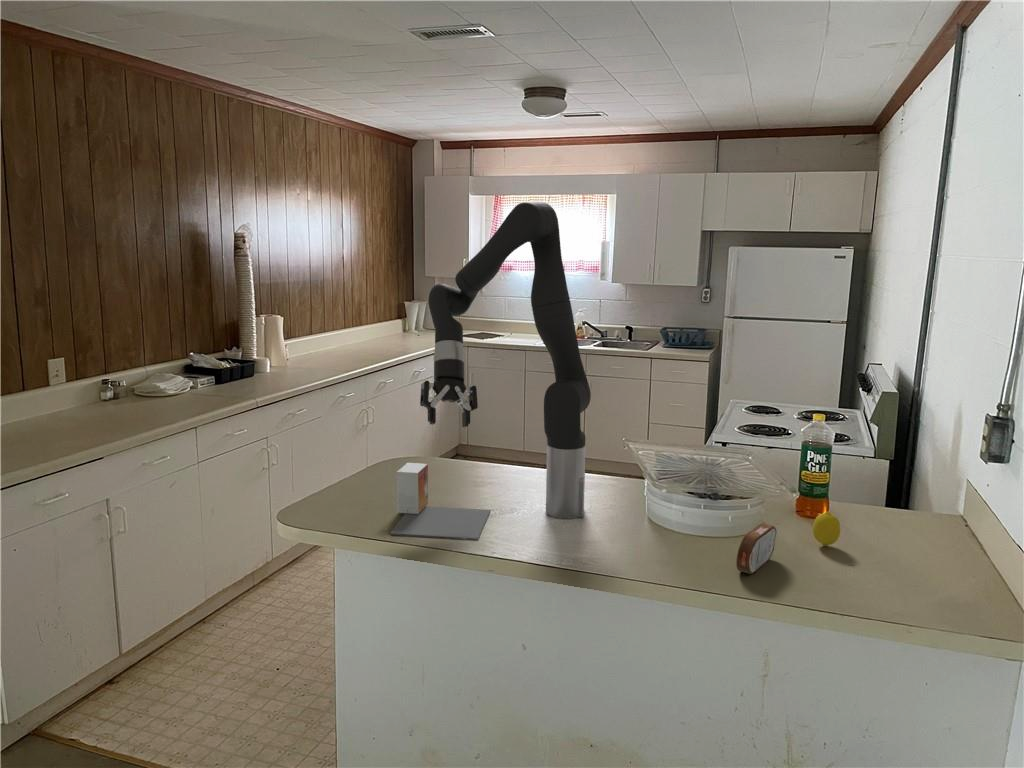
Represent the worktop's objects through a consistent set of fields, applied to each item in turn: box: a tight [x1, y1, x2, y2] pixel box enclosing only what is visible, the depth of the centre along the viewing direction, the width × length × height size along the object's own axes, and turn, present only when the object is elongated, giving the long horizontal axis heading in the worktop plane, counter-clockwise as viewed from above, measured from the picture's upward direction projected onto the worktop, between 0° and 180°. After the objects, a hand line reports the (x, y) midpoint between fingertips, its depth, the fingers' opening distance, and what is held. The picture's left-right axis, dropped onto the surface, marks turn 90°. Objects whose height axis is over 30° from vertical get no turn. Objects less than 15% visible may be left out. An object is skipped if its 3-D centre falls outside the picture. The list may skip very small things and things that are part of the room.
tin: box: [735, 521, 777, 575], centre depth 156 cm, size 15×3×8 cm, turn 141°
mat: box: [390, 505, 491, 540], centre depth 179 cm, size 20×18×1 cm
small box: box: [395, 462, 429, 514], centre depth 186 cm, size 8×6×10 cm
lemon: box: [812, 511, 841, 547], centre depth 166 cm, size 6×6×8 cm
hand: (449, 425), depth 185 cm, fingers open, 8 cm apart
